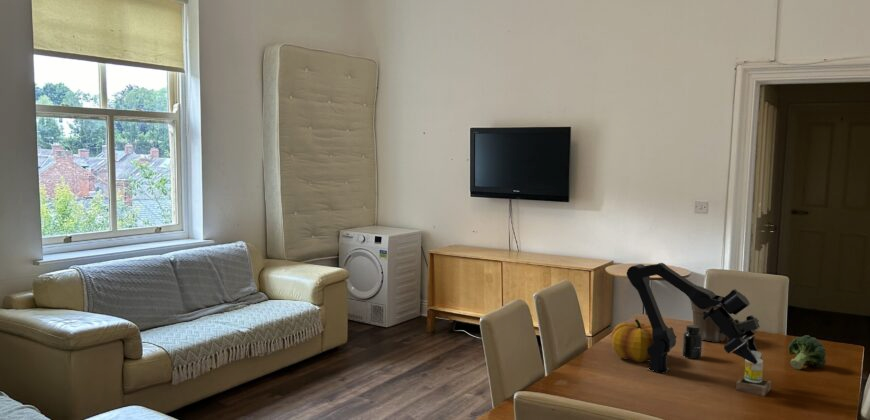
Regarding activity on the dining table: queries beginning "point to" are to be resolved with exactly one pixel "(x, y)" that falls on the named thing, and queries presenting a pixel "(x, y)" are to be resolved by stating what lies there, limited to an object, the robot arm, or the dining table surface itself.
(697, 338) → the supplement bottle
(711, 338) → the plant pot
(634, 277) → the robot arm
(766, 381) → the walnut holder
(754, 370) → the supplement bottle
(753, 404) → the dining table surface
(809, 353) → the vegetable
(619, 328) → the decorative pumpkin
